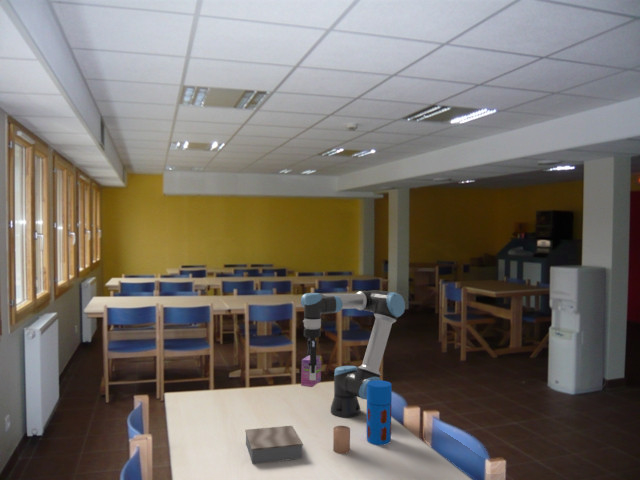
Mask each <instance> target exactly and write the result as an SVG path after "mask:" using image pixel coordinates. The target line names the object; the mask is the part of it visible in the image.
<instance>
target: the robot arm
mask: <svg viewBox="0 0 640 480" xmlns="http://www.w3.org/2000/svg"><path fill="white" fill-rule="evenodd" d="M300 298H301V299H300V304H301V306H302V308H303V313H304V314H303V315H304V316H303V320H302V323H303V327H304V329H303V337H304V338H307V340H306V341H307V342H306V343H307V351H306V352H307V353H306V357H307V356H309V355H310V364H309V366H310V375H309V380H316V365H317V363H316V355H317V344H318V342H317V340H316V338H320V337H321V336H322V335H321V333H322V332H321V331H322V329H321V326H322V315H323V314H336V313H339V312H341V311H342V310H346V309H350V310H351V309H355V310H358V311H365V312H370V313H373V316H374V318H375V319H374V324H373V327H372V330H371V333H370V336H369V341H368V343H367V347H366V349H365V354H364V357H363V360H362V364H361V365H360V366H356V365H342V366H337V367H336V368H335V369H334V375H333V380H334V381H333V382H334V383H333V385H334V386H333V391H334V392H333V393H334V394H333V396H334V397H333V400H332V401H331V405H330V413H331V414H332V415H334V416H337V417H339V418H340V417H342V418H351V417H356V416H359V415H360V414H361V405H360V403H359V399H358V398H360V399H362V400H366V401H367V383H368V382H369V381H374V380H381V381H382V379H381V375H382V374H381V372H380V367H381V363H382V360H383V357H384V353H385V350H386V347H387V344H388V339H389V336H390V333H391V329H392V326H393V325H392V324H394V323H396V322H397V321H398V320H397V319H398V318H399V317H401V316H402V315H403V314H404V313H405V309H406V303H405V300H404V297H403V295H401V294H400V293H397V292H393V291H385V290H379V289H378V290H374V289H373V290H367V291H366V290H364V291H357V292H356V293H318V292H306V293H304V294H303V295H302V296H301V297H300Z"/></svg>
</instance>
